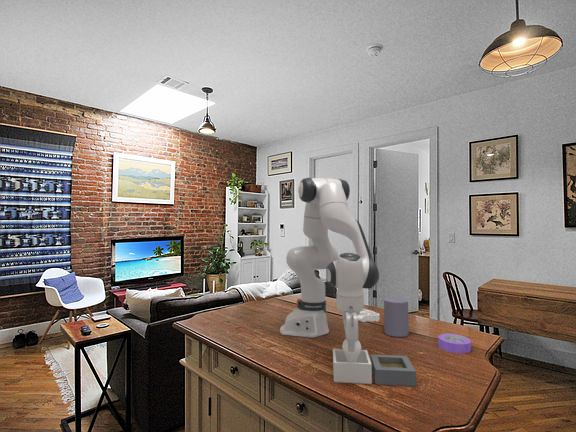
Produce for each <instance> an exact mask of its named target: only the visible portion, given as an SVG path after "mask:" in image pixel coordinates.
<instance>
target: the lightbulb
mask: <svg viewBox="0 0 576 432" xmlns="http://www.w3.org/2000/svg"><path fill="white" fill-rule="evenodd" d="M341 349H343V351H344V353H345V355H346V357H347V362H355V363H357V358H358V355H359V354H360V352H361V350H362V344H361V342H360V340H359V339H358V341H357V342H355V345H354V352H349V351H348V341H347V340H346V338H345V339H344V340H343V342H342V348H341Z"/></svg>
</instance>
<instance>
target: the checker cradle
mask: <svg viewBox="0 0 576 432" xmlns="http://www.w3.org/2000/svg"><path fill="white" fill-rule="evenodd" d="M370 361H371V364H372V376H373V377H372V378H373V380H374V383H375V385H381V386H403V387H417V370H416V369H415V368H414V367H415V366H413V364H412V362H411V361H410V359H409V357H408V355H397V354H395V355H393V354H392V355H391V354H390V355H389V354H370ZM380 363H395V364H401V365H402V367H403V368H390V367H381V365H380Z"/></svg>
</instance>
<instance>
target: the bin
mask: <svg viewBox="0 0 576 432" xmlns="http://www.w3.org/2000/svg"><path fill="white" fill-rule="evenodd" d="M332 373H333V382H334V383H343V384H344V383H345V384H346V383H347V384H365V385H366V384H368V385H371V384H372V383H373V382H372V381H373V377H372V376H373V374H372V364H371V357H370V355H369V351H368V350H367V349H361V352H360V354H359V355H358V358H357V363H355V362H347V357H346V355H345V353H344V351H343V348H332Z"/></svg>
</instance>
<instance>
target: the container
mask: <svg viewBox="0 0 576 432" xmlns="http://www.w3.org/2000/svg"><path fill="white" fill-rule="evenodd" d="M383 314H384V315H383V319H384V320H383V323H384V324H383V327H384V328H383V329H384V332H383V333H384V334H385V335H387V336H389V337H393V338H404V337H408V336H409V334H410V333H409V327H410V326H409V300H408V299H406V298H404V297H403V298H401V297H385V298H384V299H383Z"/></svg>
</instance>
